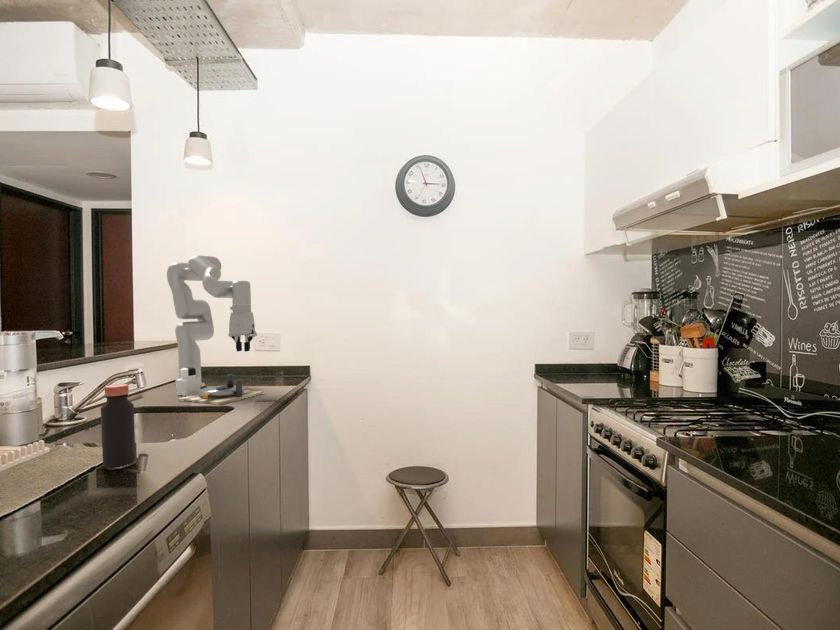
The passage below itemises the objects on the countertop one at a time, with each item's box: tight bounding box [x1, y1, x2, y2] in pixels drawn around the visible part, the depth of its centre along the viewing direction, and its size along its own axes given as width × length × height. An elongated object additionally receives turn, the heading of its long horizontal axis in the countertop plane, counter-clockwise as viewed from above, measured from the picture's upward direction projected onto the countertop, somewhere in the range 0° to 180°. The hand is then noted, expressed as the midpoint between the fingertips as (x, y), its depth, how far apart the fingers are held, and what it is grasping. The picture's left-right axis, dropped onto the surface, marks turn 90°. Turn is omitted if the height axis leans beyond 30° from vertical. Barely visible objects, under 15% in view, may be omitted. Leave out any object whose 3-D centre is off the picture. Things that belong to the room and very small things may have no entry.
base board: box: [177, 379, 265, 406], centre depth 201 cm, size 24×24×8 cm
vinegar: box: [100, 383, 137, 468], centre depth 116 cm, size 7×7×20 cm
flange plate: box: [199, 374, 246, 398], centre depth 200 cm, size 18×20×6 cm
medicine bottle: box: [175, 367, 202, 397], centre depth 208 cm, size 7×7×12 cm
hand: (243, 350), depth 206 cm, fingers open, 3 cm apart
